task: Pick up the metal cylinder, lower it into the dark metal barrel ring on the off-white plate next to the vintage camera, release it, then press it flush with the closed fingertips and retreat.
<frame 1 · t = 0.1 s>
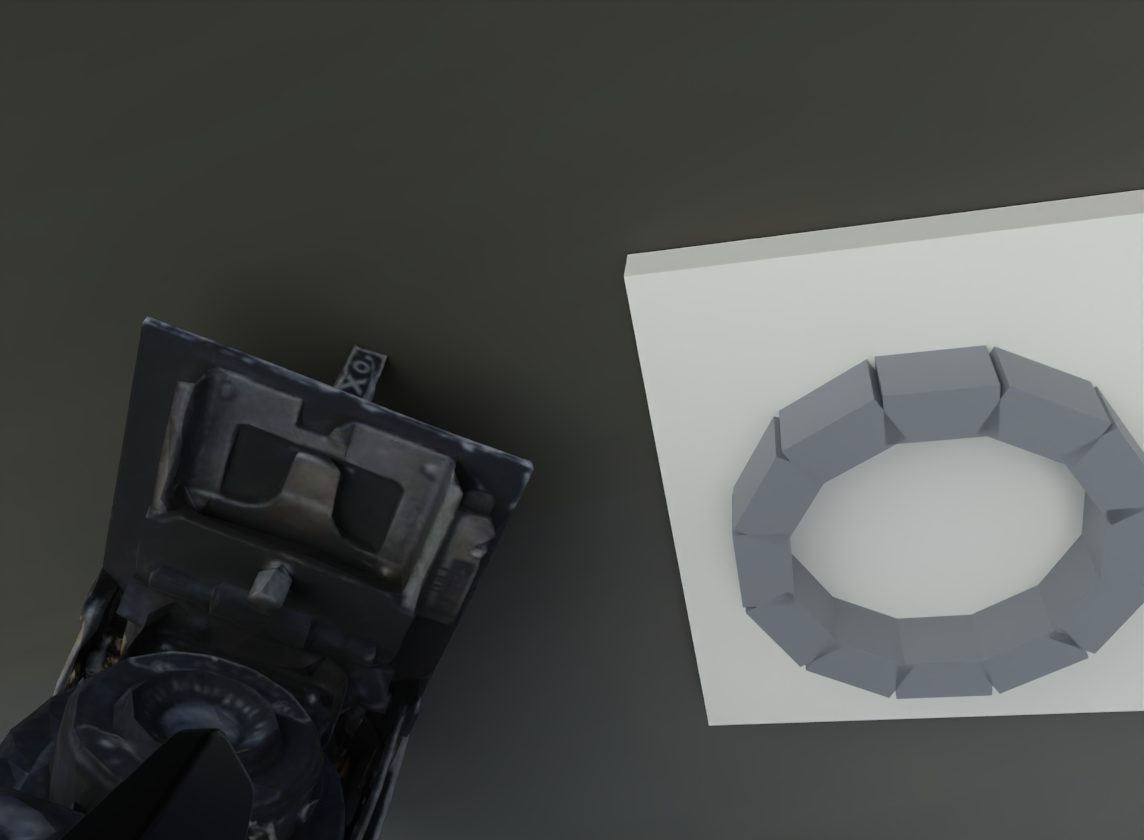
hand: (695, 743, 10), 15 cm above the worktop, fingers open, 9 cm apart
barrel plate: (925, 488, 26), on the worktop
vintage camera: (306, 529, 29), on the worktop
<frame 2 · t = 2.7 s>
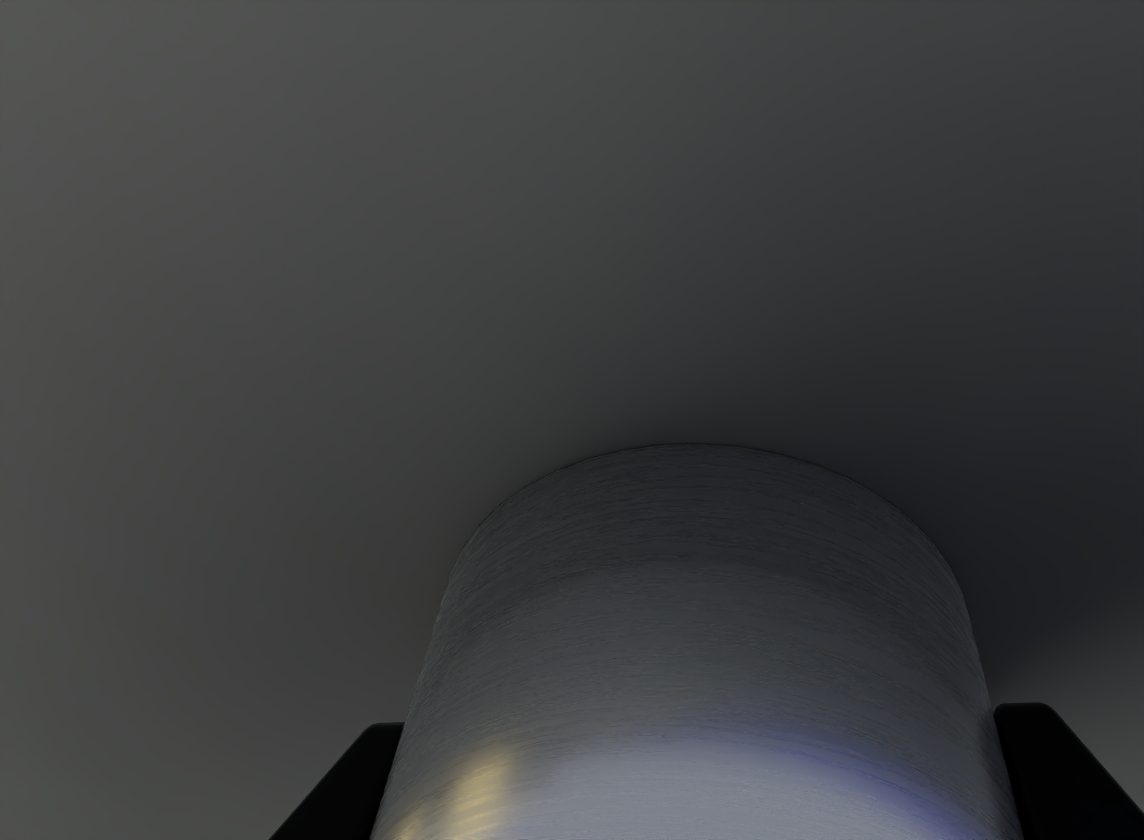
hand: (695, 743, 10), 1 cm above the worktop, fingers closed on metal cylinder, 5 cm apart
metal cylinder: (697, 653, 10), on the worktop, touching gripper
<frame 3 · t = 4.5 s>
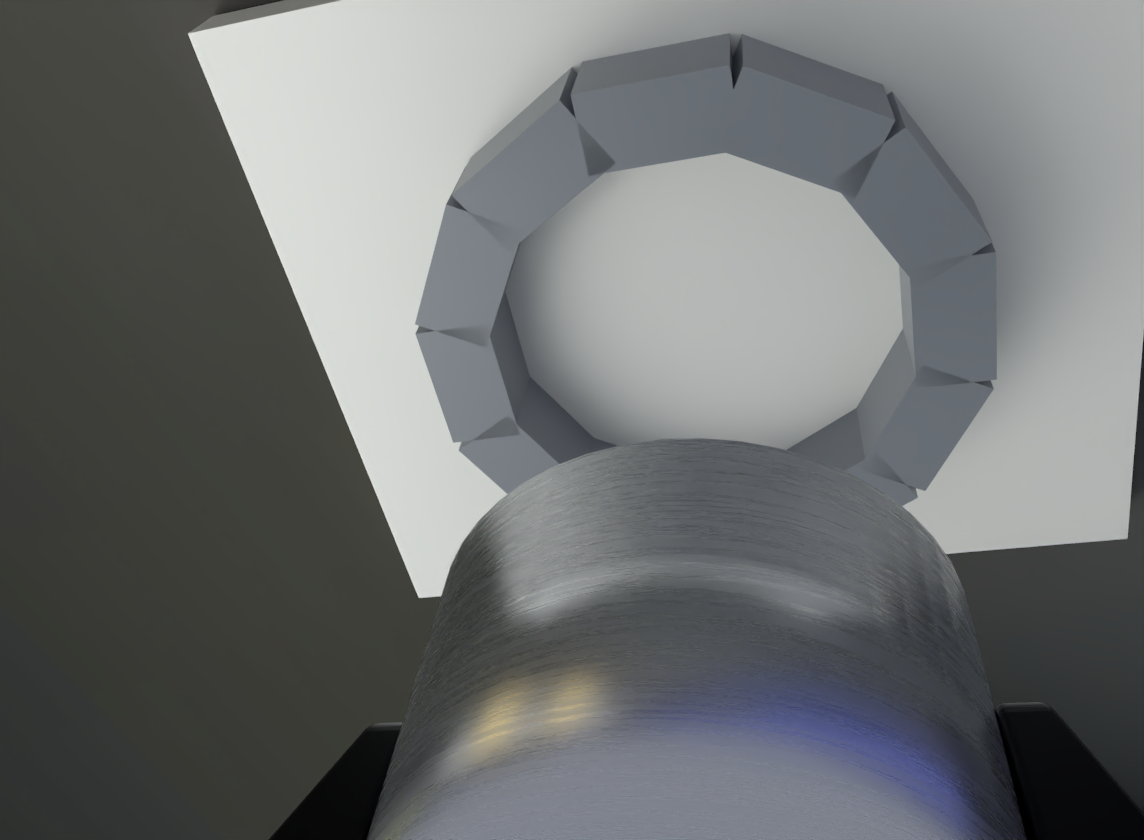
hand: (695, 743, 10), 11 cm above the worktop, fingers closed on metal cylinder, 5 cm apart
barrel plate: (702, 281, 19), on the worktop
metal cylinder: (697, 649, 10), point 10 cm above the worktop, touching gripper
when the fingers open (3 cm above the worktop, at t = 6.4 s): metal cylinder drops 1 cm, resting on barrel plate.
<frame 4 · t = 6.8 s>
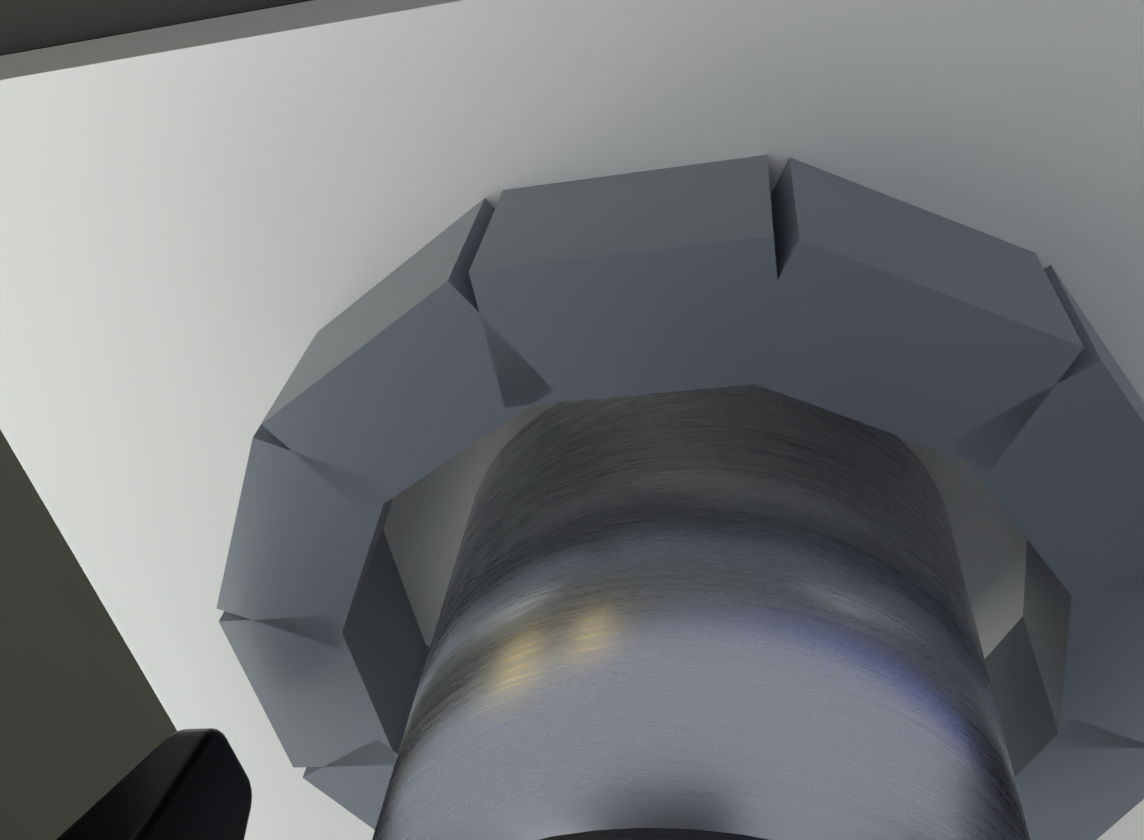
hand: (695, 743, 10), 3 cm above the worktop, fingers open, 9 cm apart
barrel plate: (699, 510, 12), on the worktop
metal cylinder: (703, 568, 11), point 1 cm above the worktop, touching barrel plate
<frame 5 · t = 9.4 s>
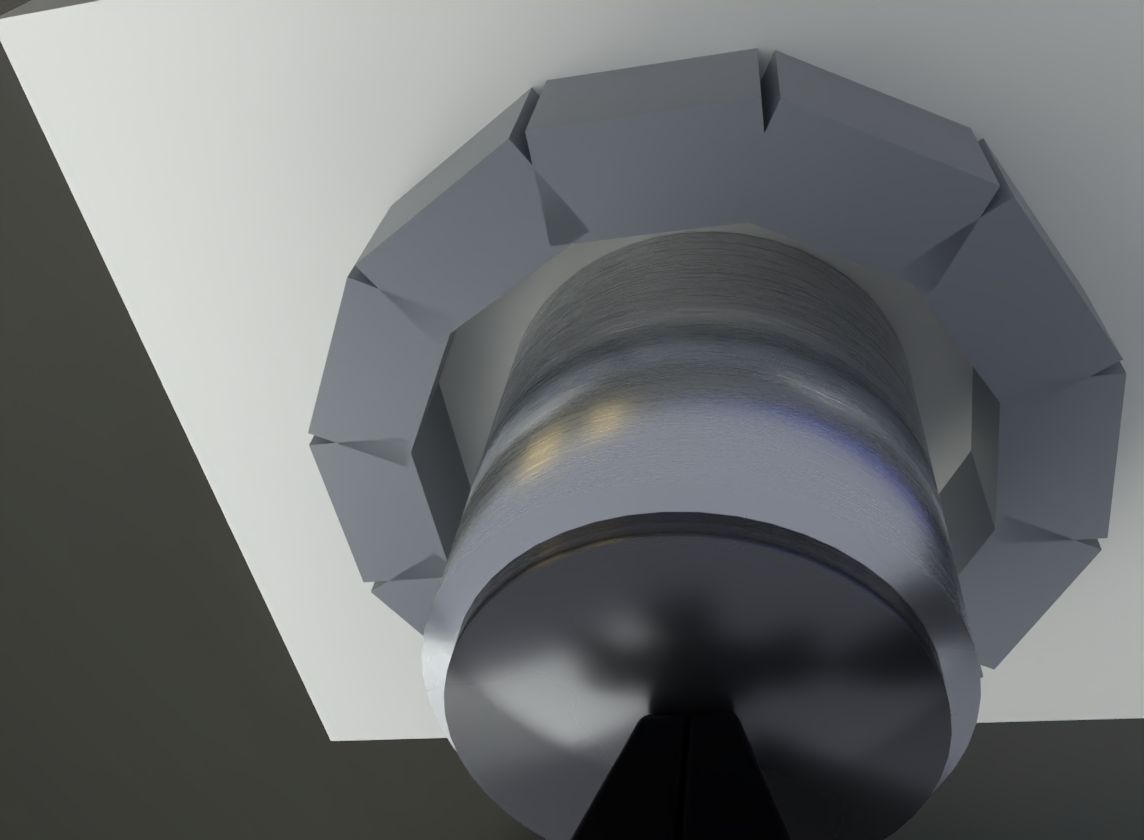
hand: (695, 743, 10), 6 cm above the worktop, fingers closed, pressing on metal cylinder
barrel plate: (702, 373, 14), on the worktop
metal cylinder: (705, 414, 14), point 1 cm above the worktop, touching barrel plate, gripper
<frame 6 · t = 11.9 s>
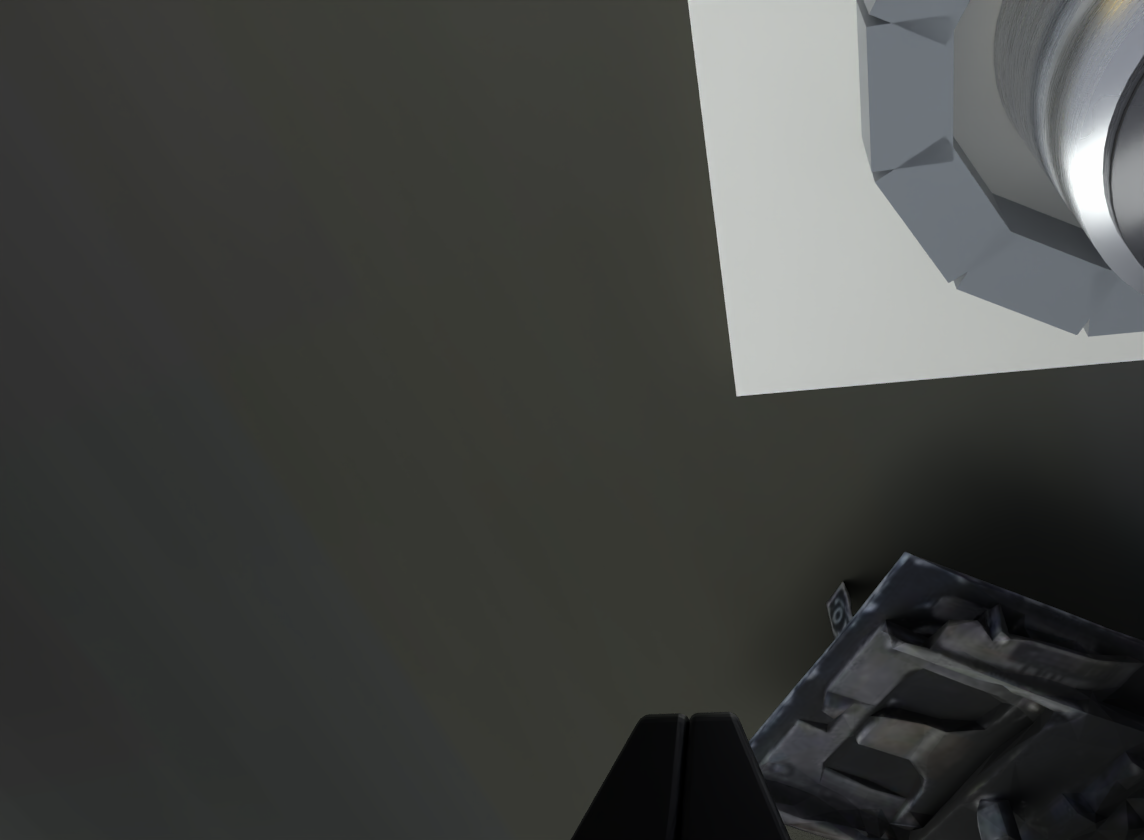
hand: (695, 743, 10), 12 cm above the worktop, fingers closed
barrel plate: (1141, 9, 17), on the worktop
vintage camera: (1070, 683, 26), on the worktop
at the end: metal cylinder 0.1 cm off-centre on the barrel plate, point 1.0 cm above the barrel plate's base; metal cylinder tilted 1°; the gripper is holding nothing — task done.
